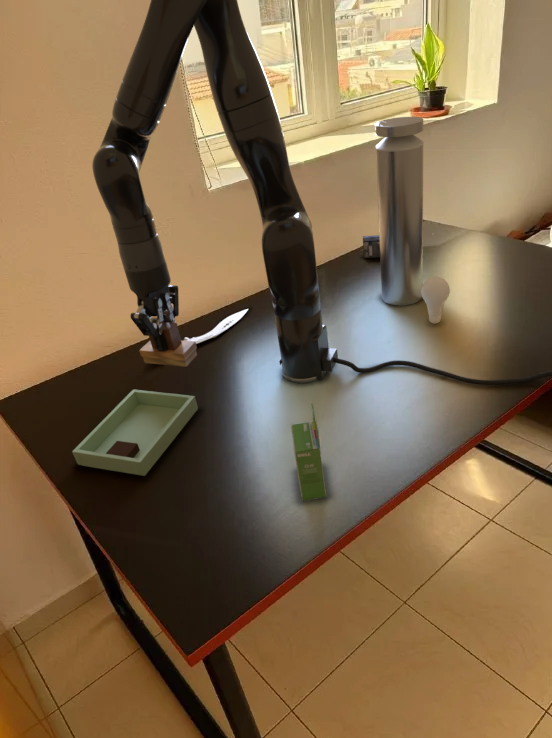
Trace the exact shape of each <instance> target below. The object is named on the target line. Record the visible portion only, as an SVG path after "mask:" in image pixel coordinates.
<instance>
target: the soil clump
mask: <svg viewBox="0 0 552 738" xmlns="http://www.w3.org/2000/svg"><path fill="white" fill-rule="evenodd" d="M139 451H140V449H139V447H138V444H137V443H130V442H123V441H116V442H115V444H114V445H113V446H112V447H111V448H110V449H109V450H108V451H107V452H106V454H110V455H117V456H123V457H129V458H134V457H135V455H136V454H137V453H138V452H139Z"/></svg>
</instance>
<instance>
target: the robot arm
mask: <svg viewBox="0 0 552 738" xmlns="http://www.w3.org/2000/svg"><path fill="white" fill-rule="evenodd" d="M193 28H194V29H195V32H196V35H197V38H198V41H199V44H200V45H199V46H200V48H201V52H202V53H201V54H202V57H203V62H204V67H205V71H206V76H207V80H208V84H209V89H210V92H211V95H212V99H213V103H214V106H215V109H216V112H217V115H218V118H219V120H220V124H221V127H222V129H223V132H224V135H225V137H226V140H227V142H228V144H229V146H230V149H231V151H232V152H233V155H234V156H235V158H236V160H237V161H238V163H239V166H240V167H241V169H242V170H243V172H244V174H245V176H247V179H248V181H249V183H250V185H251V187H252V190H253V193H254V195H255V199H256V202H257V206H258V210H259V215H260V220H261V223H262V234H261V251H262V258H263V265H264V268H265V269H264V270H265V275H266V280H267V286H268V289H269V292H270V297H271V303H272V311H273V316H274V322H275V327H276V335H277V340H278V347H279V348H278V349H279V353H280V354H279V355H280V360H279V361H278V362H279V366H281V367H282V374H283V377H284V378H285V379H286V380H287V381H289V382H292V383H296V384H306V383H312V382H315V381H323V380H324V378H325V377H326V375H327V373H329V372H330V373H331V372H333V370H334V368H335V366H336V365H337V364H339V365H343V366H346V367H348V368H350V369H352V371H354V372H356V373H358V374H367V373H372V372H376V371H379V370H382V369H385V368H388V367H392V366H403V367H404V366H406V367H410V368H415V369H419V370H421V371H425V372H427V373H431V374H434V375H439V376H442V377H445V378H448V379H450V380H451V379H452V380H453V381H454V380H455V381H456V382H457V381H458V382H461V383H465V384H471V385H477V386H478V385H479V386H505V385H506V386H507V385H517V384H525V383H530V382H533V381H536V380H539V379H543V378H546V377H552V370H547V371H543V372H539V373H536V374H533V375H530V376H526V377H519V378H518V377H517V378H507V379H476V378H469V377H464V376H461V375H457V374H455V373H452V372H448V371H445V370H441V369H437V368H434V367H430V366H427V365H423V364H421V363H417V362H414V361H408V360H398V359H397V360H390V361H385V362H382V363H379V364H377V365H373V366H371V367H358V366H357V365H356V364H354V362H351V361H348V360H345V359H342V358H339V355H338V354H339V353H338V348H336V347H330V346H329V338H328V329H327V325H325V324H323V323H324V322H323V313H322V305H321V304H322V303H321V296H320V286H319V285H320V284H319V276H318V267H317V258H316V249H315V240H314V228H313V224H312V221H311V219H310V217H309V215H308V212H307V210H306V208H305V206H304V203H303V201H302V198H301V197H300V194H299V191H298V189H297V186H296V183H295V181H294V177H293V175H292V171H291V167H290V162H289V157H288V150H287V145H286V141H285V136H284V132H283V128H282V124H281V120H280V116H279V113H278V109H277V105H276V103H275V99H274V96H273V93H272V90H271V86H270V84H269V81H268V78H267V75H266V73H265V71H264V67H263V65H262V63H261V61H260V58H259V56H258V54H257V51H256V49H255V47H254V45H253V43H252V41H251V39H250V37H249V34H248V32H247V29H246V27H245V24H244V21H243V17H242V14H241V11H240V7H239V2H238V0H150V4H149V6H148V9H147V13H146V16H145V19H144V22H143V25H142V28H141V31H140V34H139V35H138V38H137V41H136V44H135V46H134V49H133V51H132V53H131V56H130V59H129V61H128V64H127V66H126V69H125V71H124V73H123V74H124V75H123V77H122V80H121V83H120V85H119V88H118V91H117V94H116V97H115V99H114V102H113V106H112V110H111V111H112V112H111V116H112V117H111V119H110V120H109V121H110V122H109V123H108V126H107V128H106V131H105V134H104V137H103V138H102V141H101V144H100V147H99V148H98V150H97V151H96V153H95V155H94V156H93V159H92V164H91V165H92V166H91V167H92V173H93V178H94V180H95V185H96V188H97V190H98V192H99V195H100V197H101V199H102V202H103V204H104V205H105V206H104V207H105V208H106V210H107V212H108V215H109V218H110V222H111V225H112V230H113V232H114V233H113V234H114V236H115V239H116V242H117V247H118V254H119V257H120V260H121V264H122V267H123V270H124V274H125V277H126V280H127V284H128V287H129V290H130V291H131V292H132V293H134V295H136V299H137V300H136V301H137V303H136V304H137V307H138V308H137V309H136V311H135V312H131V313H130V319H131V320H132V322H133V323H134V324H135V326H136V327H137V328H138V330H139V331H140V332H141V335H143V336H145V337H149V336H152V337H153V340H154V344H155V347H156V349H157V350H158V351H166V350H167V349H168V346H167V342H166V339H165V335H164V333H163V326H162V322H173V323H176V317H178V316H179V314H180V308H179V306H180V305H179V286H178V285H173V284H171V275H170V271H169V268H168V264H167V260H166V256H165V253H164V247H163V244H162V241H161V240H160V237H159V234H158V231H157V228H156V223H155V220H154V215H153V212H152V210H151V207H150V205H149V204H148V202H147V201H146V198H145V193H144V191H143V186H142V183H141V178H140V171H141V169H142V165H143V162H144V159H145V157H146V154H147V151H148V147H149V145H150V142H151V139H152V136H153V135H154V134H155V132H156V130H157V128H158V126H159V123H160V121H161V119H162V116H163V113H164V112H165V108H166V106H167V104H168V101H169V98H170V96H171V93H172V90H173V87H174V83H175V81H176V77H177V74H178V71H179V67H180V65H181V61H182V57H183V54H184V51H185V48H186V45H187V43H188V40H189V37H190V35H191V33H192V31H193ZM153 323H155V324H156V326H157V328H155V327H154V325H153Z"/></svg>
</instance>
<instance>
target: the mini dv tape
mask: <svg viewBox="0 0 552 738" xmlns="http://www.w3.org/2000/svg"><path fill="white" fill-rule="evenodd" d="M362 250H363V251H362V252H363V259H374V258H380V240H379V234H376V235H363V236H362Z"/></svg>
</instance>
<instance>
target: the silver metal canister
mask: <svg viewBox="0 0 552 738" xmlns="http://www.w3.org/2000/svg"><path fill="white" fill-rule="evenodd" d="M374 126H375V127H374V129H375V136H376V137H379V138H383V139H381V141H379V143H377V144H376V145H375V158H376V159H375V160H376V183H377V184H376V185H377V209H378V211H377V213H378V214H377V215H378V235H379V240H380V257H379V261H380V263H379V264H380V284H381V285H380V290H381V300H382V301H383V302H384V303H386V304H387V305H392V306H399V307H401V306H410V305H413V304H416V303H418V302H420V301H421V300H422V299H423V297H422V294H421V288H422V285H423V284H424V280H423V279H424V278H423V277H424V276H423V275H424V274H423V270H424V268H423V265H424V263H423V262H424V144H425V143H424V142H425V141H424V140H422V139H420V138H419V137H418V136H416V135H417V134H420V133H421V132H423V131H424V118H423V117H419V116H401V117H400V116H399V117H398V116H397V117H392V118H391V117H390V118H385V119H382V120H380V121H377V122H376V123H374Z"/></svg>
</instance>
